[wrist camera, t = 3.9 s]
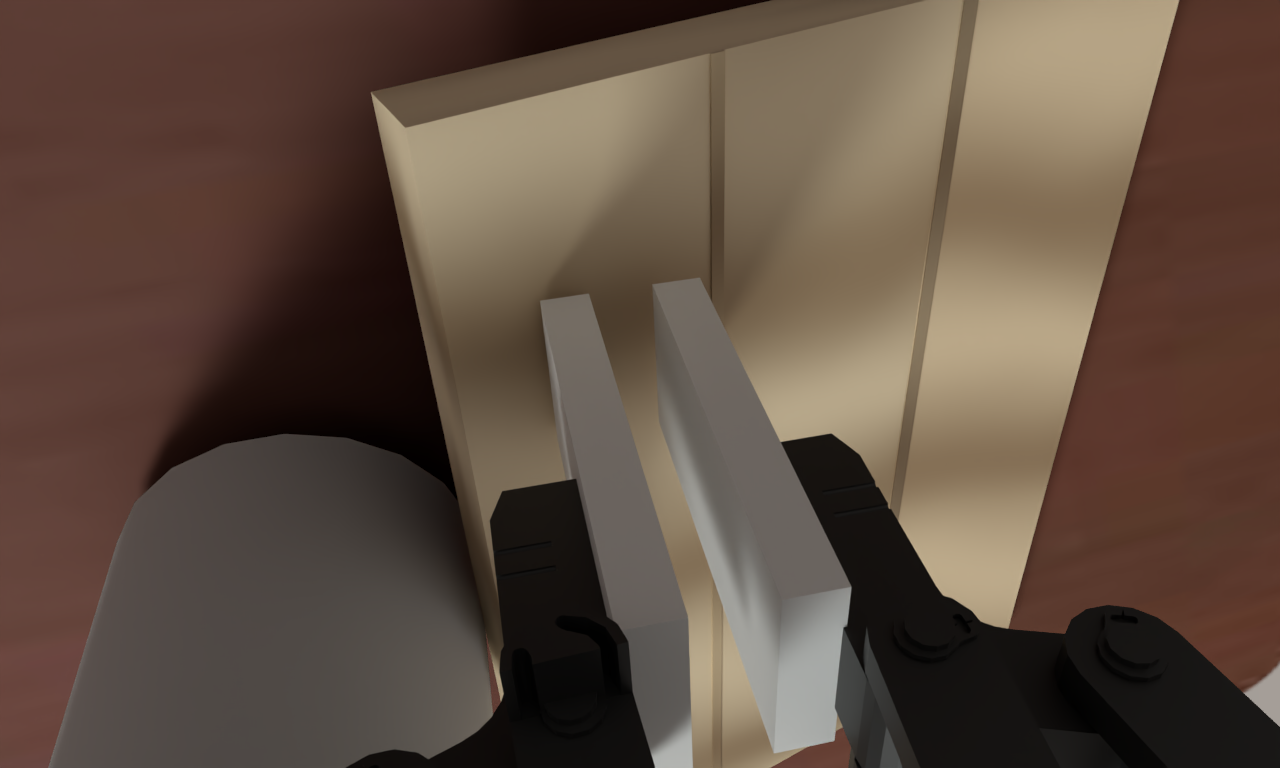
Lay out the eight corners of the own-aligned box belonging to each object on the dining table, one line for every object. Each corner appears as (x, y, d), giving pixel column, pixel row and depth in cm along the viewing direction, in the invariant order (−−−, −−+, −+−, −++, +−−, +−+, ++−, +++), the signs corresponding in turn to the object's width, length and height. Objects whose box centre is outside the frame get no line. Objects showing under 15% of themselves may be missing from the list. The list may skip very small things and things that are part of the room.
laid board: (925, -33, 18) (964, -9, 16) (1137, -56, 18) (1189, -33, 17) (840, 675, 30) (858, 719, 29) (967, 650, 30) (991, 693, 29)
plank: (370, 92, 14) (406, 129, 13) (902, -31, 18) (965, -9, 16) (530, 838, 26) (555, 889, 25) (825, 680, 30) (859, 719, 29)
